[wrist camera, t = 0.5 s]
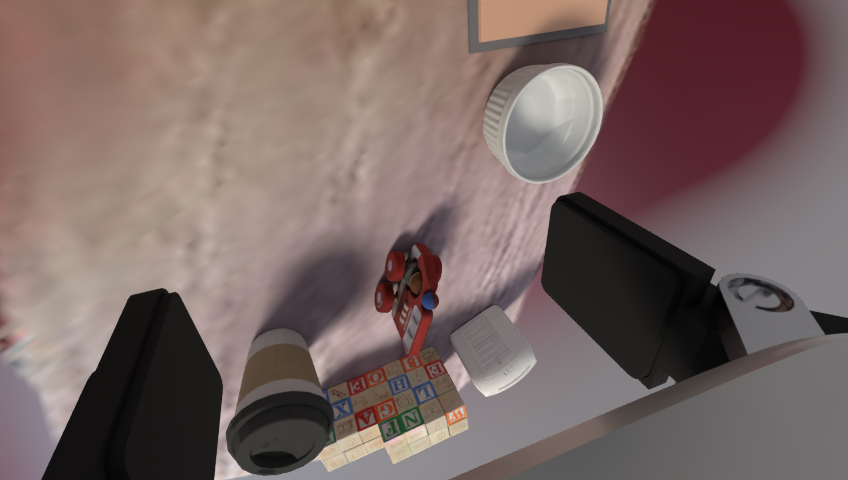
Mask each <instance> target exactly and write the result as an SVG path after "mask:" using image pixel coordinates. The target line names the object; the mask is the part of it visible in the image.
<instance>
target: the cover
mask: <svg viewBox="0 0 848 480" xmlns="http://www.w3.org/2000/svg"><path fill="white" fill-rule="evenodd" d="M607 3H608V0H478V25H479V42H487V41H494V40H500V39H507V38H513V37H520V36H526V35H533V34H539V33H546V32H552V31H559V30H566V29H572V28H579V27H585V26H592V25H598V24H604V23H605V16H606V9H607Z"/></svg>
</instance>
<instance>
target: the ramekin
mask: <svg viewBox="0 0 848 480" xmlns="http://www.w3.org/2000/svg"><path fill="white" fill-rule="evenodd" d="M602 116H603V99H602V93H601V90H600V87H599V85H598V83H597V81H596V80H595V78H594V77H593V76H592V75H591V74H590V73H589V72H588V71H587V70H585V69H584V68H581V67H579V66H576V65H572V64H568V63H553V64H549V65H530V66H525V67H523V68H519V69H517V70H516V71H513V72H512V73H510V74H509V75H507V76H506V77H505V78H504V79H503V80H502V81H501V82H500V83H499V84H498V85H497V86H496V88H495V89H494V90H493V92H492V94H491V96H490V98H489V100H488V102H487V105H486V108H485V112H484V116H483V131H484V136H485V140H486V142H487V145H488V147H489V148H490V150H491V152H492V153H493V154H494V155H495V156H496V157H497V158H498V159H499V160H500V161H501V162H502V163H503V164H504V166H505V167H506V169H507V170H508V171H509V172H510V173H511V174H512V175H514V176H515V177H517V178H519V179H521V180H523V181H525V182H528V183H533V184H541V183H547V182H551V181H554V180H556V179H559V178H561V177H562V176H564V175H566V174H567V173H569V172H570V171H571V170H573V169H574V168H575V167H576V166H577V165H578V164H579V163H580V162H581V161H582V160H583V159H584V157H585V156H586V155H587V153H588V152H589V150H590V149H591V147H592V145H593V143H594V142H595V139H596V137H597V135H598V132H599V129H600V126H601V121H602Z"/></svg>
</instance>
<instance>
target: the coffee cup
mask: <svg viewBox="0 0 848 480" xmlns="http://www.w3.org/2000/svg"><path fill="white" fill-rule="evenodd" d="M333 423H334V411H333V409H332V406H331V404H330V403H329V402H328V401H327V400H326V399H325V398H324V395H323V392H322V389H321V386H320V383H319V380H318V377H317V374H316V371H315V368H314V365H313V362H312V359H311V356H310V353H309V350H308V347H307V344H306V342H305V340H304V339H303V337H302V336H301V335H300V334H299V333H298V332H296V331H294V330H291V329H286V328H279V329H272V330H269V331H266V332H264V333H263V334H261V335H259V336H258V337H257V338H256V339H255V340H254V341H253V343H252V346H251V347H250V350H249V352H248V356H247V361H246V365H245V370H244V374H243V379H242V384H241V388H240V393H239V397H238V402H237V407H236V411H235V416H234V418H233V419H232V420H231V421H230V424H229V426H228V428H227V431H226V440H227V448H228V452H229V453H230V454H231V456H232V457H233V458H234V459H235V460H236V462H237V463H238V465H239V466H240V467H241V468H242V469H243V470H245V471H247V472H249V473H251V474H257V475H263V476H265V475H278V474H282V473H287V472H291V471H293V470H295V469H297V468H300V467H302V466H304V465H306V464H307V463H309V462H310V461H312V460H313V459H315V458H316V457H317V456H318V455H319V454H320V453H321V452H322V451H323V449H324V447H325V445H326V443H327V439H328V438H329V436H330V434H331V432H332V430H333Z"/></svg>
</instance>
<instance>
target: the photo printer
mask: <svg viewBox="0 0 848 480" xmlns="http://www.w3.org/2000/svg"><path fill="white" fill-rule="evenodd" d="M450 341H451V343H452V345H453V347H454V349H455V351H456V352H457V354H458V356H459V358H460V360H461V362H462V363H463V365H464V367H465V369H466V371H467V372H468V374H469V376H470V378H471V380H472V381H473V383H474V385H475V386H476V387H477V388H478V390H479V391H481V392H482V393H483V394H484V395H485V396H486V397H487V396H491V395H494V394H497V393H499V392H502V391H504V390H506V389H507V388H509V387H511V386H512V385H514V384H515V383H517V382H518V381H519V380H521V379H522V378H523V377H524V376H525V375H526V374H527V373H528V372H529V371H530V370H531V369H532V367H533V366H534V364H535V363H536V361H537V360H536V359H535V357H534V352H533V350H532V348H531V347H530V345H529V344H528V343H527V341H526V340H525V339H524V337H523V336H522V335H521V333H520V332H519V331H518V330H517V328H516V327H515V326H514V324H513V323H512V322H511V320H510V319H509V318H508V317H507V315H506V314H505V313H504V311H503V310H502V309H501V308H500V307H499V306H497V305H493V306H491V307H489V308H487V309H486V310H484V311H483V312H481V313H480V314H479V315H477V316H476V317H474V318H473V319H471V320H470V321H469V322H467V323H466V324H464V325H463V326H461V327H460V328H459V329H457V330H456V331H455V332H453V333H452V334H451V335H450Z"/></svg>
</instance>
